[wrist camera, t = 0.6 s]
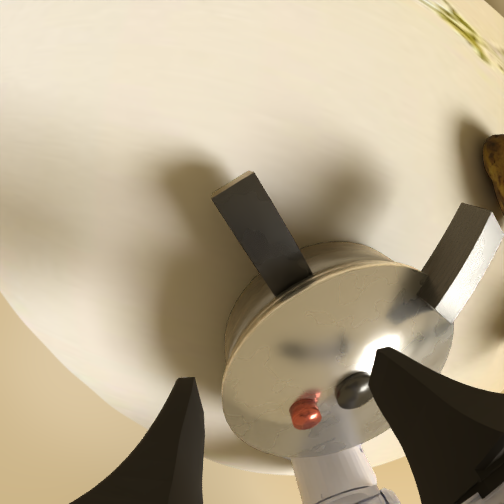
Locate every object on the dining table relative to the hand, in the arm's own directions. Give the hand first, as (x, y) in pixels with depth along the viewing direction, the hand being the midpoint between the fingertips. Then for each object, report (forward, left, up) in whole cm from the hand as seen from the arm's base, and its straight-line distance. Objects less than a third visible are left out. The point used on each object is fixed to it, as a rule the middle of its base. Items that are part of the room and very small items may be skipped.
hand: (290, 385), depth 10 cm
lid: (-7, -3, -5) cm, 9 cm away
